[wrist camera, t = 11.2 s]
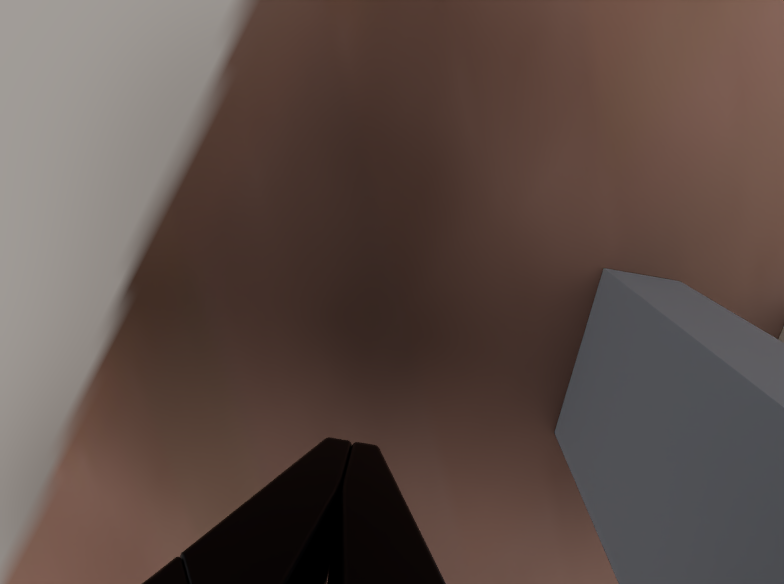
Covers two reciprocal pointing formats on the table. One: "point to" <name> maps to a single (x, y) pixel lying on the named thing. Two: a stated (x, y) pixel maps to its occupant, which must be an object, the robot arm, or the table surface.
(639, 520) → the domino
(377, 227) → the table surface
